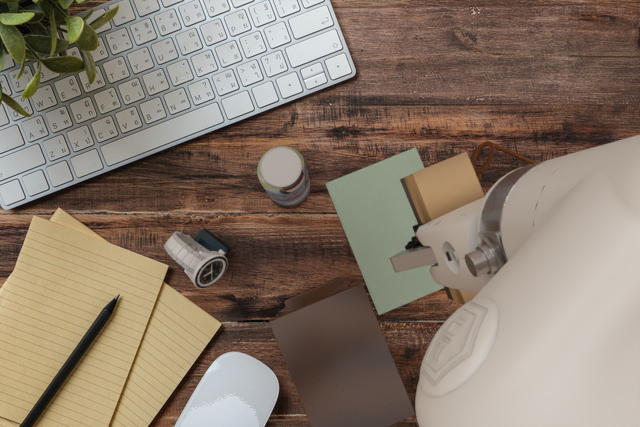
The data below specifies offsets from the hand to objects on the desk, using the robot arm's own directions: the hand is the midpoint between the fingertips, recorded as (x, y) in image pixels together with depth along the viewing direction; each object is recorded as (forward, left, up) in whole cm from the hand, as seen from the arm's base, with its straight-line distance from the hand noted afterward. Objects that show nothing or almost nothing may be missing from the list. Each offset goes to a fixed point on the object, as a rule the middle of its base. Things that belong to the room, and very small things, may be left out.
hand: (450, 229), depth 44 cm
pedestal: (-9, +14, -24) cm, 29 cm away
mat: (0, 0, -24) cm, 24 cm away
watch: (+7, +26, -24) cm, 36 cm away
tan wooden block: (0, 0, -1) cm, 1 cm away
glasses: (-2, -16, -24) cm, 29 cm away
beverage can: (+12, +12, -24) cm, 29 cm away
